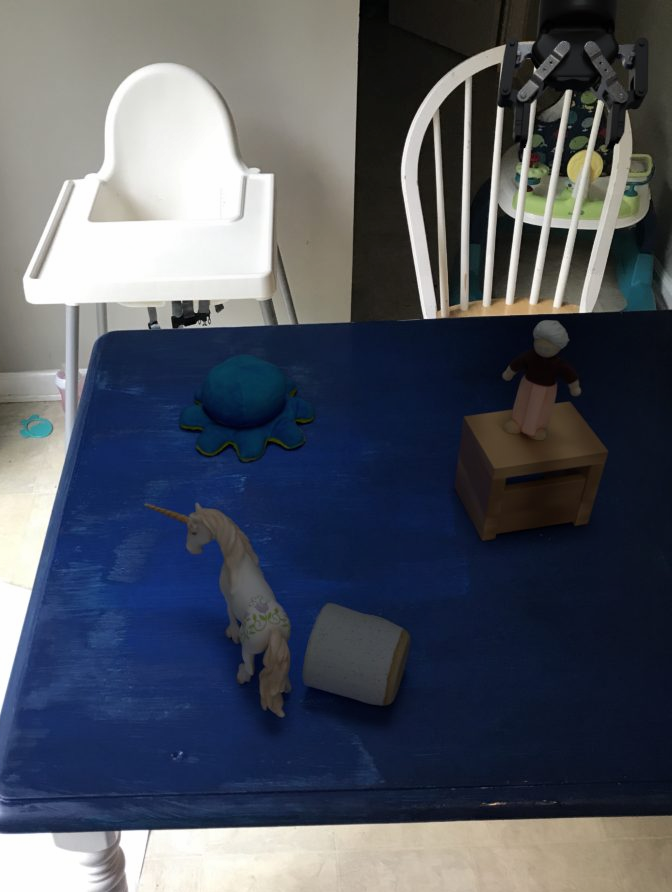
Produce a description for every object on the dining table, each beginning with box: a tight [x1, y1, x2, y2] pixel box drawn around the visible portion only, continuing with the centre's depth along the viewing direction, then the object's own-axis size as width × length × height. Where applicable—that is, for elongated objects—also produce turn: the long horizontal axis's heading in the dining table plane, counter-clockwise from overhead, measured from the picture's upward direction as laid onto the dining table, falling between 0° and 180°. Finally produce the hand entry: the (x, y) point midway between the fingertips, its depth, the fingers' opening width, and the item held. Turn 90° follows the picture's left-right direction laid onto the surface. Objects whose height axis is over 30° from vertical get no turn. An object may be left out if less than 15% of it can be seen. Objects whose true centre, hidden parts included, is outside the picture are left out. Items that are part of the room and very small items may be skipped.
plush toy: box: [178, 353, 316, 463], centre depth 103 cm, size 17×17×8 cm
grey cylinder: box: [302, 602, 411, 706], centre depth 74 cm, size 11×8×8 cm
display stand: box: [454, 401, 609, 542], centre depth 89 cm, size 12×9×10 cm
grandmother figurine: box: [502, 319, 582, 440], centre depth 82 cm, size 8×4×13 cm, turn 72°
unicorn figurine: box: [143, 502, 293, 718], centre depth 75 cm, size 7×20×13 cm, turn 36°
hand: (566, 145), depth 83 cm, fingers open, 8 cm apart
